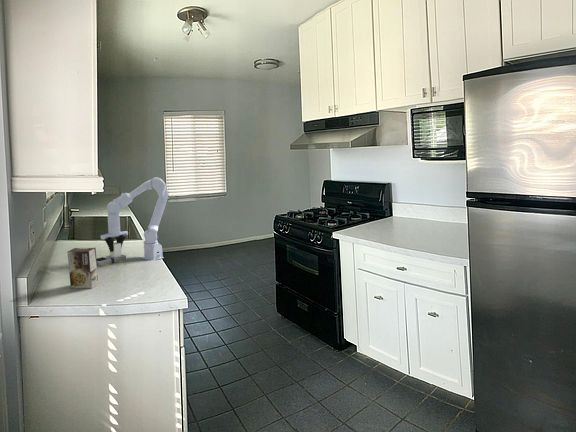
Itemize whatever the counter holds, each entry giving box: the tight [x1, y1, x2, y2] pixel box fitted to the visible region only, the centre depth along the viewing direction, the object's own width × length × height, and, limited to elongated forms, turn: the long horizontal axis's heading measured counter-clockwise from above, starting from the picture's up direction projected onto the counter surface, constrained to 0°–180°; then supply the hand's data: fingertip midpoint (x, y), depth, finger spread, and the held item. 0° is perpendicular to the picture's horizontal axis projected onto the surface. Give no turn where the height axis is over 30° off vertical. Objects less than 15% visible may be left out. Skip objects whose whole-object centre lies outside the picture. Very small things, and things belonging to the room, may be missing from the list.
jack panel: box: [96, 254, 127, 268], centre depth 200 cm, size 9×16×3 cm, turn 148°
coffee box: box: [66, 247, 99, 289], centre depth 164 cm, size 9×6×16 cm
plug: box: [109, 242, 123, 258], centre depth 203 cm, size 5×4×7 cm
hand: (115, 250), depth 203 cm, fingers closed on plug, 4 cm apart
